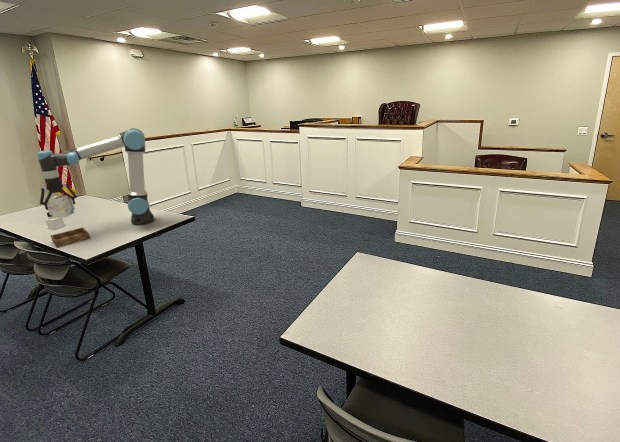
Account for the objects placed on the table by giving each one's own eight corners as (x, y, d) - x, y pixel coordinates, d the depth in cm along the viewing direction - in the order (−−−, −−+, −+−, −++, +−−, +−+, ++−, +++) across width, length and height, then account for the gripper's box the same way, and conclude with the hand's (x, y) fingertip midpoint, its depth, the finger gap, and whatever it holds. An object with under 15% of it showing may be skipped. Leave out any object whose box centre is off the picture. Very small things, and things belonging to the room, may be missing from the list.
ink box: (60, 213, 218) (54, 193, 214) (74, 212, 219) (68, 192, 214) (52, 218, 210) (45, 197, 206) (66, 217, 211) (60, 196, 206)
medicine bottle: (65, 225, 247) (60, 209, 243) (55, 229, 240) (50, 213, 236) (58, 225, 249) (52, 209, 245) (48, 228, 243) (42, 212, 239)
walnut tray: (84, 232, 231) (83, 227, 230) (90, 238, 221) (88, 232, 220) (52, 241, 220) (50, 235, 219) (56, 247, 210) (54, 241, 208)
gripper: (73, 172, 217) (83, 206, 224) (26, 180, 201) (38, 215, 209) (76, 174, 211) (86, 208, 219) (27, 182, 196) (40, 218, 204)
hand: (62, 212), depth 214 cm, fingers closed on ink box, 11 cm apart
